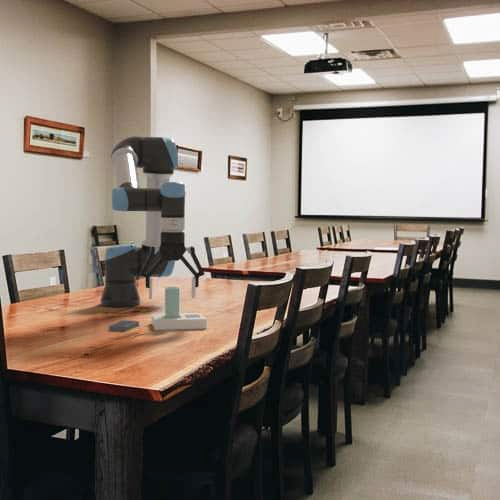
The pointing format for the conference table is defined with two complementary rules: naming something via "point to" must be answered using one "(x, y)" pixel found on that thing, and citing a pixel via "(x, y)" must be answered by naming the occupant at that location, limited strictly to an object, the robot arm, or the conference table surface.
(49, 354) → the conference table surface
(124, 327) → the phone
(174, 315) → the pale green block
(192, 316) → the outlet board
